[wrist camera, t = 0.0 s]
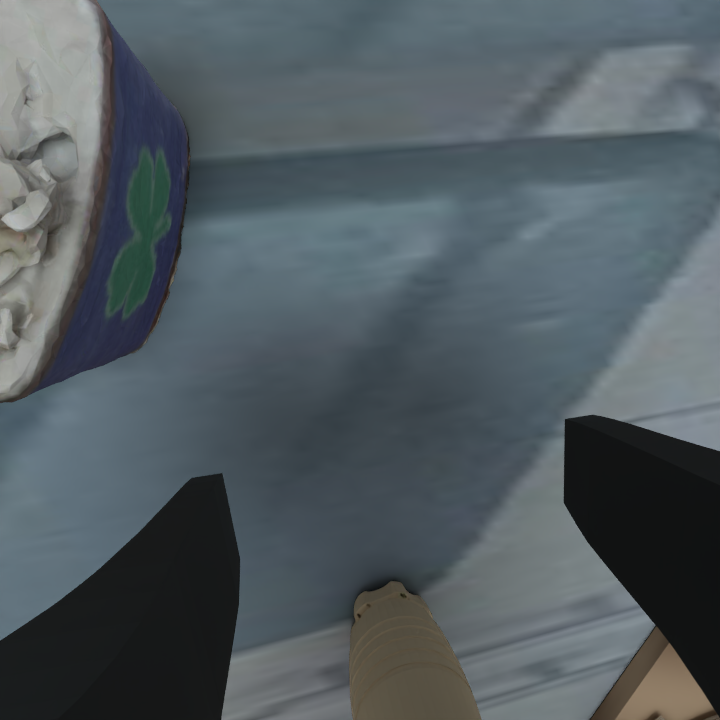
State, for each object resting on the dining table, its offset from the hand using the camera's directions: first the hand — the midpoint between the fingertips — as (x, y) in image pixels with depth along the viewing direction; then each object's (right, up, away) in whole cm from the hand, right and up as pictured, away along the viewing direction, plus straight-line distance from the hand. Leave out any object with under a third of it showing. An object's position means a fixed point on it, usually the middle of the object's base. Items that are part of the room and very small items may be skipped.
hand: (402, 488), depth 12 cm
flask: (-9, +7, +9) cm, 14 cm away
